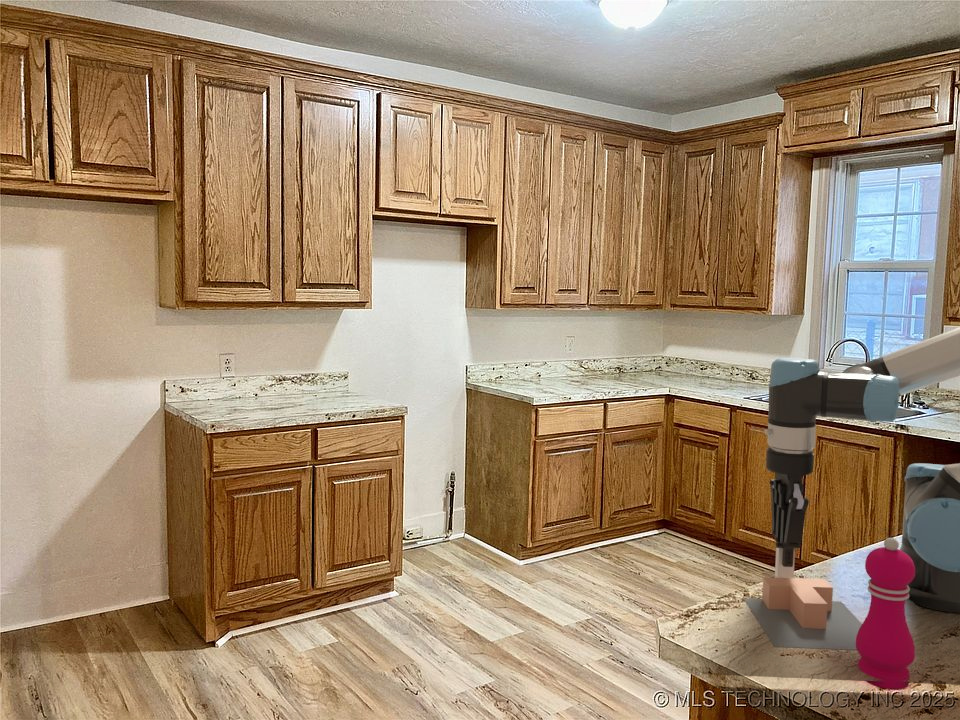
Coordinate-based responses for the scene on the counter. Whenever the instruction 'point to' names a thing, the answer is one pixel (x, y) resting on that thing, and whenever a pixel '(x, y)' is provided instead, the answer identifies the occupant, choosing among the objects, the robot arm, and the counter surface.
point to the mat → (793, 635)
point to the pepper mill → (887, 618)
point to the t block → (800, 599)
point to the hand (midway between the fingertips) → (784, 581)
